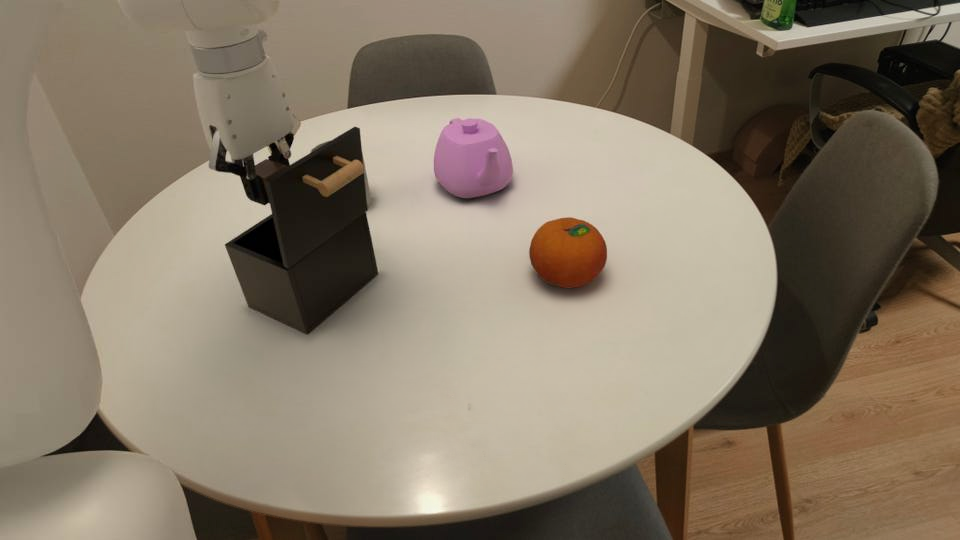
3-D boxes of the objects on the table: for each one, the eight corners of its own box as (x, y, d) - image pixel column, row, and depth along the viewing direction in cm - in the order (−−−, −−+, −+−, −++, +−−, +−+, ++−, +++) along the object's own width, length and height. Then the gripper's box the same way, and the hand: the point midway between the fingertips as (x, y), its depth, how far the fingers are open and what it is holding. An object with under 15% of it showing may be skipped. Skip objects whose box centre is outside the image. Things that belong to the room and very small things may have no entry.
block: (272, 204, 80) (263, 178, 77) (251, 197, 81) (243, 171, 79) (293, 190, 82) (286, 165, 80) (273, 184, 84) (266, 158, 82)
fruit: (516, 285, 88) (515, 238, 83) (549, 246, 95) (549, 201, 90) (587, 308, 83) (590, 260, 78) (616, 265, 90) (620, 218, 85)
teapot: (422, 170, 115) (414, 110, 108) (488, 153, 119) (484, 94, 112) (463, 224, 101) (456, 158, 93) (536, 202, 104) (536, 138, 97)
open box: (248, 307, 88) (224, 244, 81) (321, 252, 97) (305, 191, 90) (307, 335, 82) (286, 270, 76) (378, 274, 92) (366, 212, 85)
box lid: (264, 180, 67) (298, 195, 65) (354, 126, 77) (387, 138, 75) (283, 266, 76) (314, 282, 74) (363, 208, 85) (392, 221, 83)
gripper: (263, 27, 77) (298, 159, 89) (144, 74, 67) (201, 217, 78) (306, 35, 74) (337, 171, 85) (188, 85, 63) (242, 233, 75)
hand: (272, 192), depth 82 cm, fingers closed on block, 3 cm apart
